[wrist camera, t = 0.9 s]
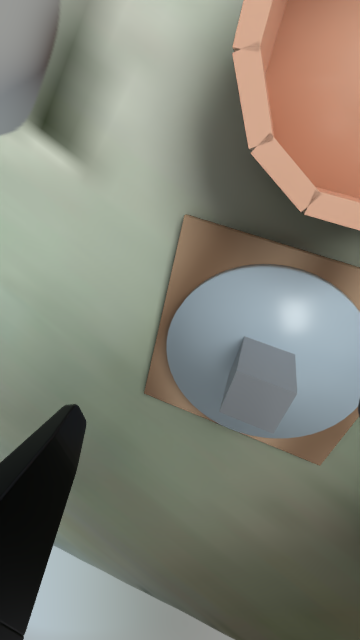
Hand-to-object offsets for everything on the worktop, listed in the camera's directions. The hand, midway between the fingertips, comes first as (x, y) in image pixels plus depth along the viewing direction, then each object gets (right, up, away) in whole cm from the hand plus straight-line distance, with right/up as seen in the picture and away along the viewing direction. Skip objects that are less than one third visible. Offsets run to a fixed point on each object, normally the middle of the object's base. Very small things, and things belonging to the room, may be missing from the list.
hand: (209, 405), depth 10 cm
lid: (+5, 0, +12) cm, 13 cm away
